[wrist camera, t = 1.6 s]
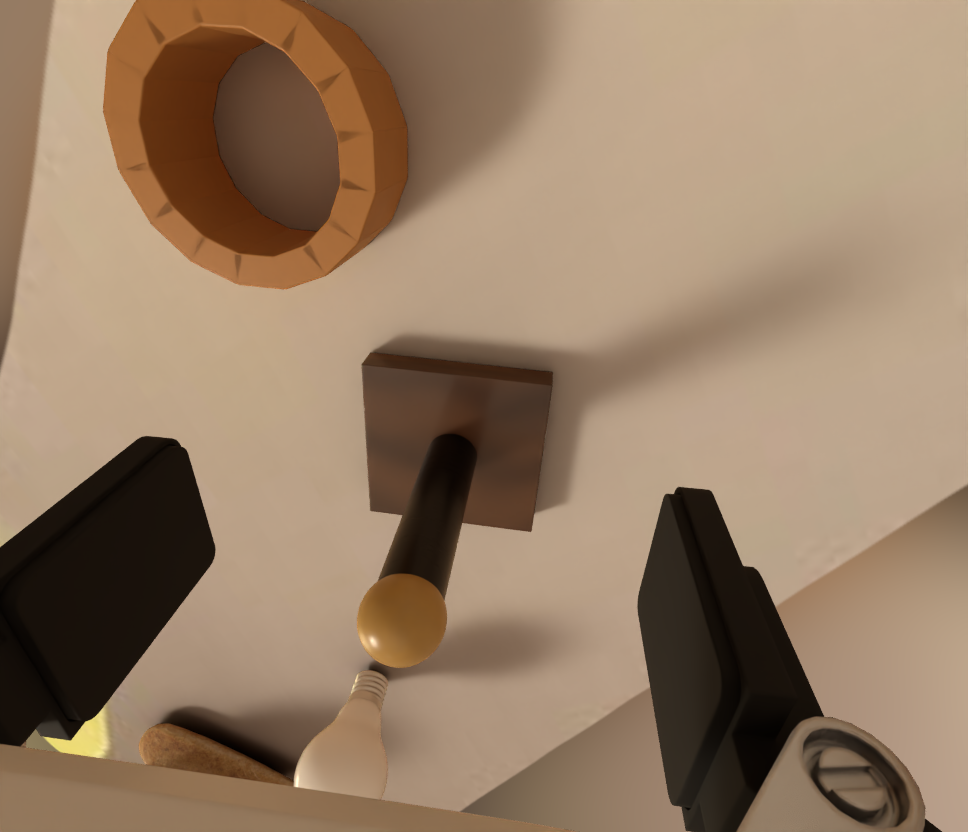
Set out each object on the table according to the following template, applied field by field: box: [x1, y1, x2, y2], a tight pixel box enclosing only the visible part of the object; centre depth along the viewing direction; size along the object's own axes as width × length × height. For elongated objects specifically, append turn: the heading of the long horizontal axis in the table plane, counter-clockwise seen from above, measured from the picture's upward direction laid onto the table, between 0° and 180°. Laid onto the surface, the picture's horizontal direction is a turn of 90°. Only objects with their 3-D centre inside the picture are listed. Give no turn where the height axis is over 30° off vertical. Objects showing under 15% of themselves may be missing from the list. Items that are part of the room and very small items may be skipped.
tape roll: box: [103, 0, 408, 289], centre depth 22 cm, size 10×10×5 cm
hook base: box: [362, 353, 553, 532], centre depth 31 cm, size 10×10×2 cm
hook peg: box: [357, 434, 477, 668], centre depth 24 cm, size 3×3×13 cm
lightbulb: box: [294, 670, 388, 800], centre depth 39 cm, size 6×6×11 cm
